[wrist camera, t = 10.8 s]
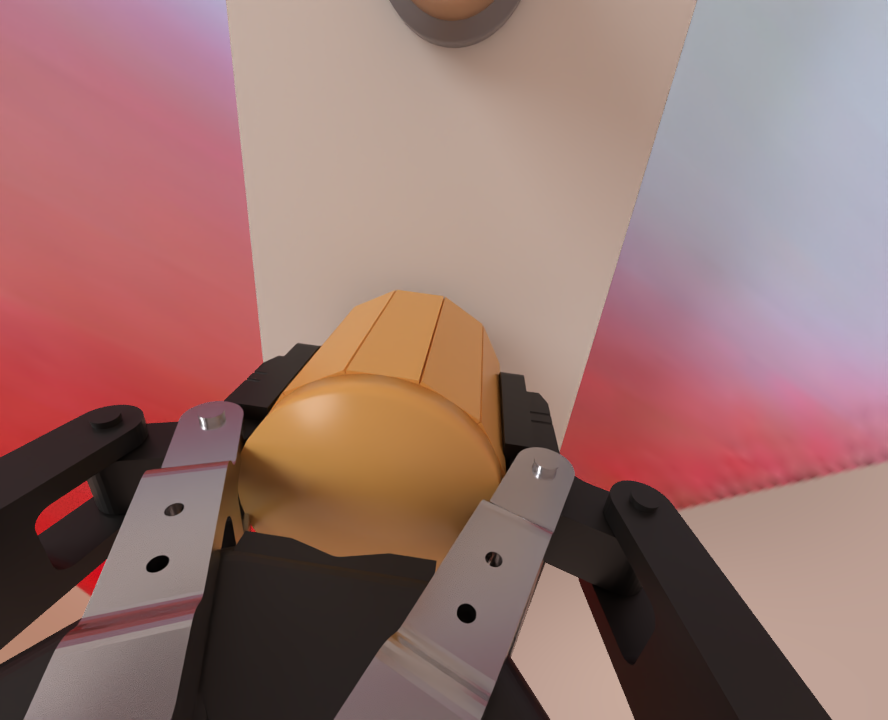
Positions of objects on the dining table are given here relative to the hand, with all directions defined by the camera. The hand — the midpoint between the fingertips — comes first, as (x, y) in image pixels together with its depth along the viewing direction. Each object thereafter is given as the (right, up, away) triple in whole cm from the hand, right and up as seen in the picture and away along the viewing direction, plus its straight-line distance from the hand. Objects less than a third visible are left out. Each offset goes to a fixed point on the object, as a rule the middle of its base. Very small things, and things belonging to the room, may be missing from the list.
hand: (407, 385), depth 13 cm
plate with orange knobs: (+1, +7, +2) cm, 8 cm away
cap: (0, 0, +1) cm, 1 cm away
